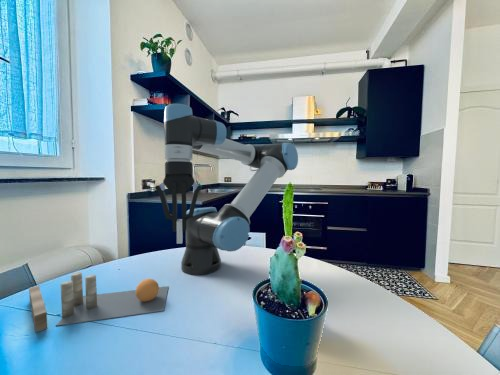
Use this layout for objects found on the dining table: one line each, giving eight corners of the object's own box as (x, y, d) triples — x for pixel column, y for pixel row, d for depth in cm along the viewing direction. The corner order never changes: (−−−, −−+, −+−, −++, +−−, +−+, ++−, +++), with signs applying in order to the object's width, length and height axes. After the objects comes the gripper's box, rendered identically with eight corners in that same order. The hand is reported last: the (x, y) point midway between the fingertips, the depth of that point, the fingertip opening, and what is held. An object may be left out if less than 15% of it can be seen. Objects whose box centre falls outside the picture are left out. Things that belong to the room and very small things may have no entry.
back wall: (29, 301, 63) (29, 287, 63) (39, 298, 64) (38, 285, 64) (35, 332, 51) (34, 315, 50) (47, 328, 52) (46, 311, 52)
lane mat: (168, 286, 72) (168, 286, 72) (163, 311, 59) (163, 310, 59) (81, 296, 65) (81, 296, 65) (55, 326, 53) (55, 325, 53)
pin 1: (76, 311, 58) (74, 280, 58) (71, 317, 56) (69, 284, 56) (65, 313, 58) (63, 281, 57) (60, 319, 55) (58, 286, 55)
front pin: (98, 304, 62) (97, 274, 61) (95, 309, 60) (93, 278, 59) (88, 305, 61) (87, 275, 61) (84, 310, 59) (83, 279, 58)
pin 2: (84, 301, 63) (83, 272, 63) (80, 306, 61) (79, 275, 60) (74, 302, 63) (73, 273, 62) (70, 307, 60) (69, 276, 60)
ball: (160, 293, 68) (159, 274, 67) (157, 304, 62) (157, 283, 62) (138, 295, 66) (138, 276, 66) (133, 307, 60) (133, 286, 60)
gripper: (152, 159, 59) (153, 248, 60) (202, 161, 62) (203, 244, 63) (156, 161, 66) (157, 240, 67) (201, 162, 69) (202, 237, 71)
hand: (179, 242), depth 65 cm, fingers closed
